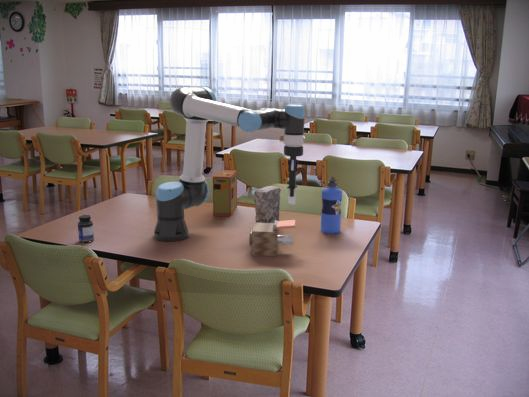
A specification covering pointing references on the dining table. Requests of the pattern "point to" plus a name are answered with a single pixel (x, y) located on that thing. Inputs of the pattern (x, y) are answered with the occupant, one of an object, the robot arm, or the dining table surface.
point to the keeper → (284, 224)
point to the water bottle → (331, 208)
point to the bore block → (264, 239)
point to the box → (224, 192)
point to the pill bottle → (85, 228)
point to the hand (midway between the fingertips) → (291, 203)
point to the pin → (280, 239)
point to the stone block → (267, 204)
